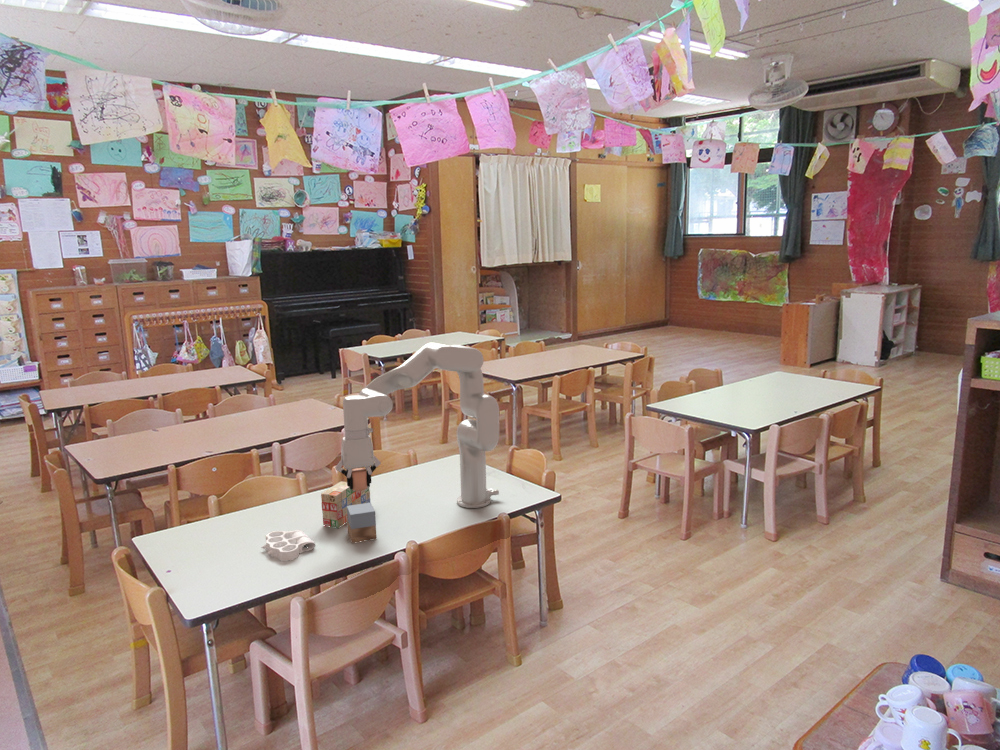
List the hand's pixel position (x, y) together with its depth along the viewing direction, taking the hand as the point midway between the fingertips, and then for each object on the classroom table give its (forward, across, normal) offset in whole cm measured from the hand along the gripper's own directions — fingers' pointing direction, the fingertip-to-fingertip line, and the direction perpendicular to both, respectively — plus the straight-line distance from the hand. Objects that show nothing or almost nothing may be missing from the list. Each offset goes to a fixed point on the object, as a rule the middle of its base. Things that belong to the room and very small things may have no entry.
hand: (359, 486), depth 229 cm
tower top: (+13, 0, 0) cm, 13 cm away
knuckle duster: (+18, +24, -1) cm, 30 cm away
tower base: (+18, 0, 0) cm, 18 cm away
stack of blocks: (+18, +1, -20) cm, 27 cm away
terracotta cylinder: (+1, 0, 0) cm, 1 cm away
